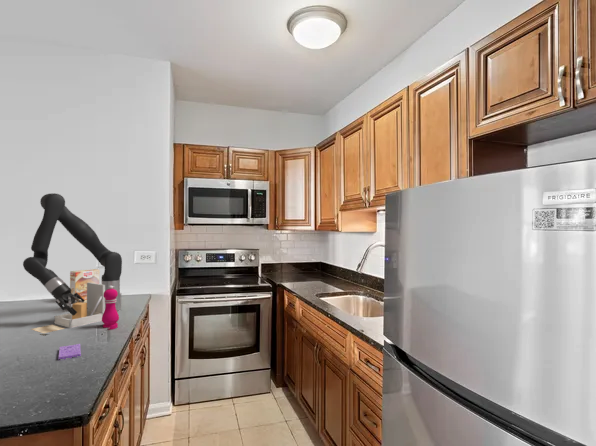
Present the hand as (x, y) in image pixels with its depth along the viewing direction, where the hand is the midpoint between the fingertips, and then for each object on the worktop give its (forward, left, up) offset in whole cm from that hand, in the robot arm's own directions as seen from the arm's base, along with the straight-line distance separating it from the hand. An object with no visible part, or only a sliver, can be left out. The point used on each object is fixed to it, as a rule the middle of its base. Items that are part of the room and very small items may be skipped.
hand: (80, 312), depth 179 cm
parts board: (+14, -1, -6) cm, 15 cm away
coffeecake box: (-30, -51, -6) cm, 59 cm away
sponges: (+24, +38, -7) cm, 45 cm away
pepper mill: (-4, +18, -6) cm, 20 cm away
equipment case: (0, -1, -6) cm, 6 cm away
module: (0, -1, -5) cm, 5 cm away
